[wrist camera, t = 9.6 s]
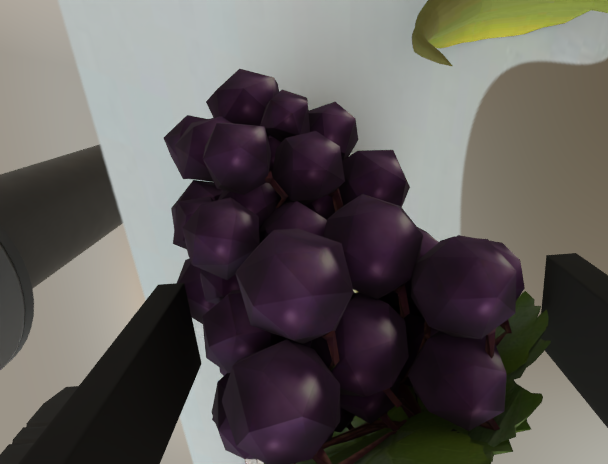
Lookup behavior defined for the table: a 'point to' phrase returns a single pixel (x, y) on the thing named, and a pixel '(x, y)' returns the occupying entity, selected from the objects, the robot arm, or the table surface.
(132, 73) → the table surface
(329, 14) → the table surface
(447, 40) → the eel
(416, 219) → the table surface
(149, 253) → the table surface
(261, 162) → the fruit
